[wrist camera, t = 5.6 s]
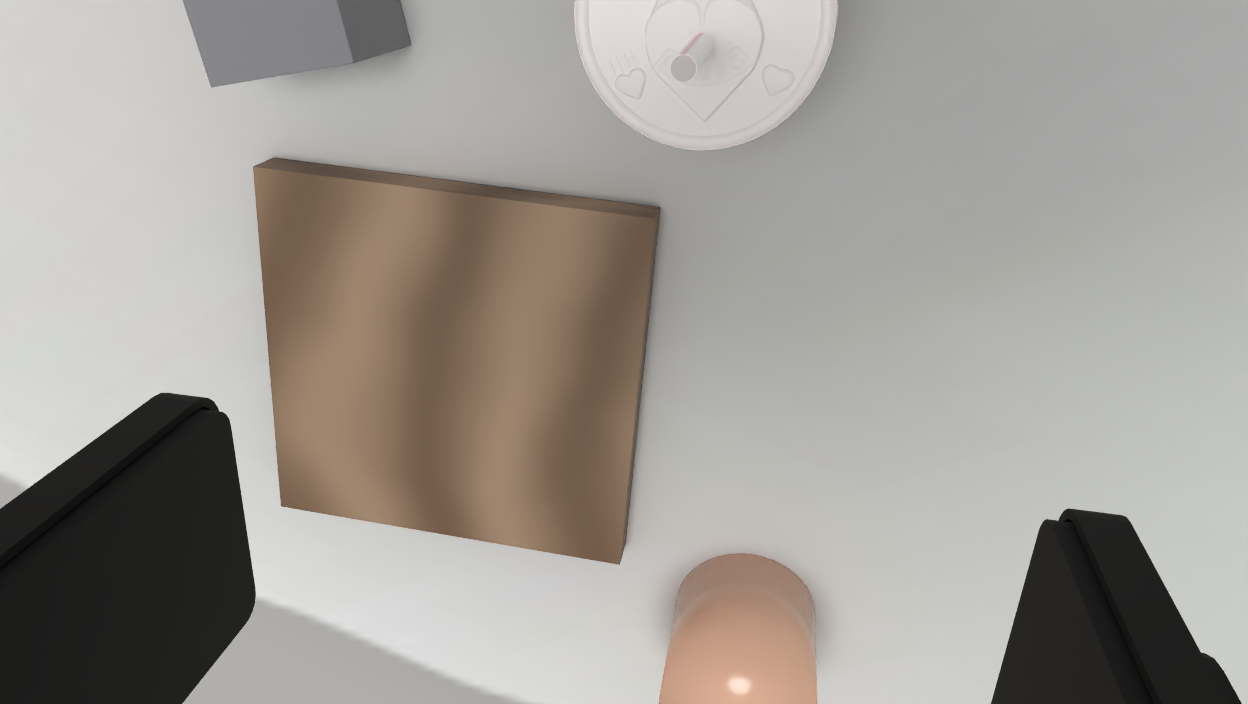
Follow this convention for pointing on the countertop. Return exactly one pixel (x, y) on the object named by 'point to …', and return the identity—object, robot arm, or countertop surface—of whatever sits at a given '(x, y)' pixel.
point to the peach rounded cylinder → (741, 636)
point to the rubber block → (291, 35)
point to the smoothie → (704, 64)
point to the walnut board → (455, 353)
